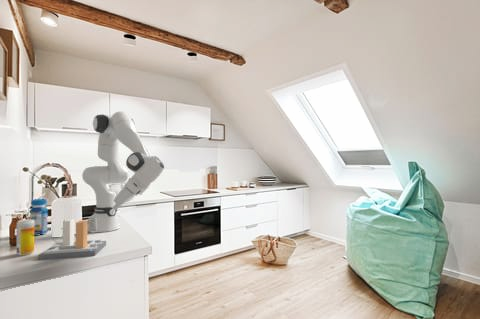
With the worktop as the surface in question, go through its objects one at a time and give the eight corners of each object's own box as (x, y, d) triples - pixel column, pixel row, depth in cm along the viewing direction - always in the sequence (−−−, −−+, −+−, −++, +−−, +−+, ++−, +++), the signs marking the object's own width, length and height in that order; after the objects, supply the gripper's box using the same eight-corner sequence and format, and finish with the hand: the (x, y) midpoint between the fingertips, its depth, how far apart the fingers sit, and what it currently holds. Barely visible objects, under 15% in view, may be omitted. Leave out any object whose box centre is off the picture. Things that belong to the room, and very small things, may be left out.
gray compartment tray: (106, 244, 126) (106, 216, 126) (95, 255, 111) (95, 223, 111) (56, 248, 121) (56, 218, 122) (38, 259, 107) (38, 226, 107)
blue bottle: (50, 233, 147) (50, 199, 148) (32, 237, 140) (32, 201, 141) (44, 231, 152) (44, 198, 153) (26, 234, 145) (27, 199, 146)
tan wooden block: (87, 246, 116) (87, 220, 117) (83, 249, 112) (83, 222, 112) (80, 246, 116) (80, 220, 116) (75, 250, 111) (75, 222, 112)
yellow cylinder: (37, 252, 116) (37, 219, 116) (23, 256, 110) (23, 222, 110) (27, 251, 117) (27, 218, 118) (12, 255, 112) (13, 221, 112)
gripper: (135, 180, 129) (115, 201, 127) (125, 182, 109) (101, 207, 107) (145, 189, 130) (125, 209, 127) (137, 192, 110) (113, 216, 107)
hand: (114, 208), depth 117 cm, fingers closed
